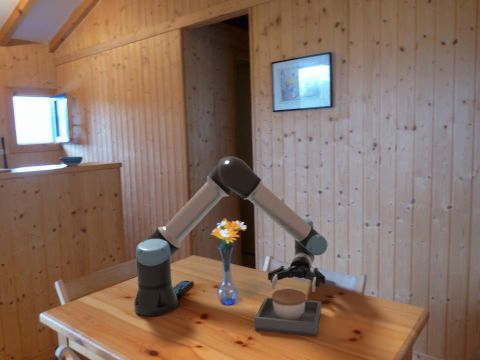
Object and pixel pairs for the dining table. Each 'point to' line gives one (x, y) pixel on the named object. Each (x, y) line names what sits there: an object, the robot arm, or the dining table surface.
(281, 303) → the lidded jar
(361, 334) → the dining table surface
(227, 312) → the dining table surface
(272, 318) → the bin
